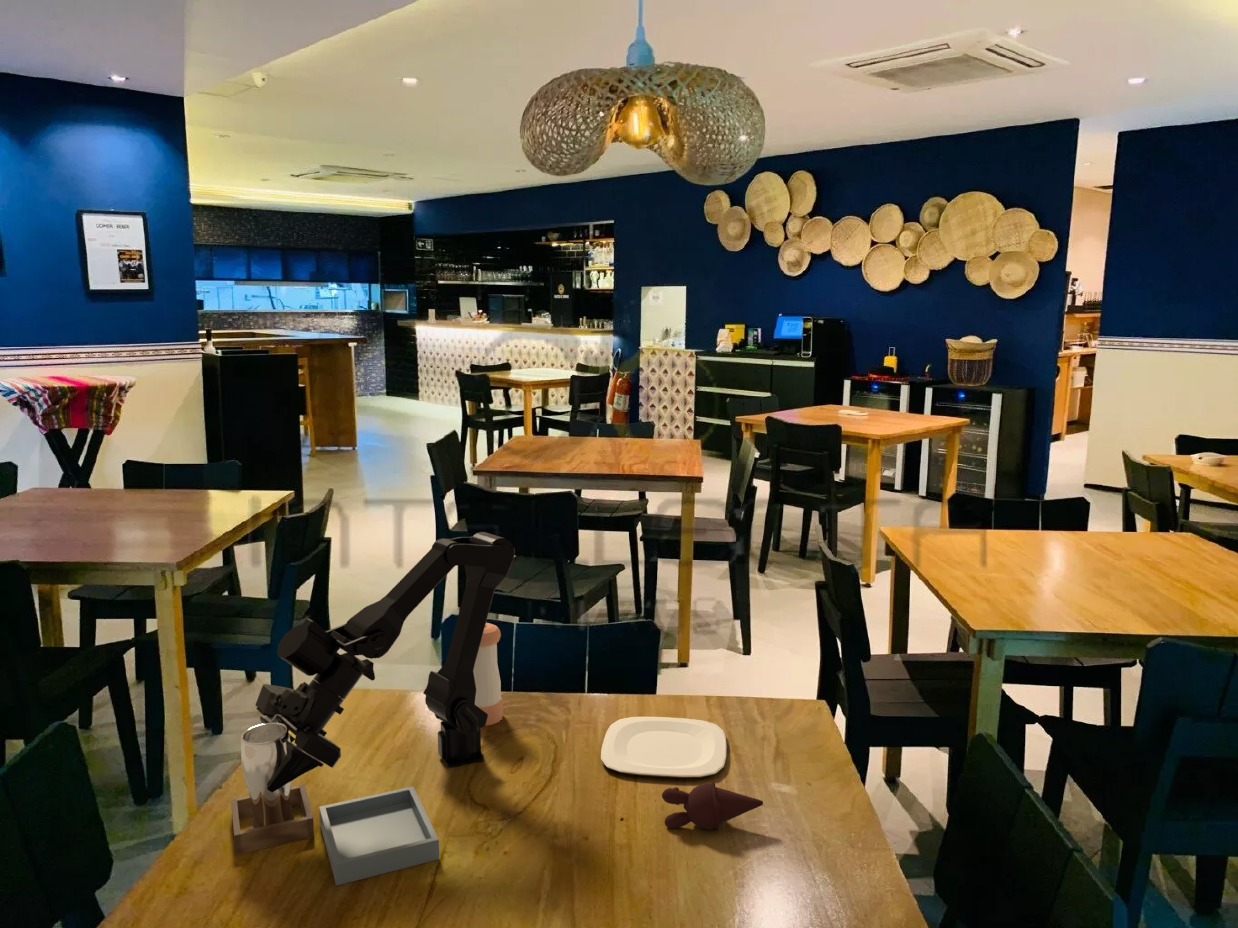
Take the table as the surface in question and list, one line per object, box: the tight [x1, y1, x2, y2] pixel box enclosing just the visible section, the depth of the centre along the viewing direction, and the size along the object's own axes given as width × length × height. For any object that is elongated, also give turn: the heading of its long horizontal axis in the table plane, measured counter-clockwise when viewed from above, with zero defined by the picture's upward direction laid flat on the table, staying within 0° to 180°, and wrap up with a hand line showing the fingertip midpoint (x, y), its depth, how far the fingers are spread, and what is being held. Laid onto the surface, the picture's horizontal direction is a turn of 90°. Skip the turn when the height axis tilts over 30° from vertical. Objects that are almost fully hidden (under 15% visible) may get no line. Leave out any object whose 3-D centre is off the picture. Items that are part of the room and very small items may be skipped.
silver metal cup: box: [240, 723, 296, 829], centre depth 132 cm, size 7×7×15 cm
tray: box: [318, 785, 440, 887], centre depth 130 cm, size 14×16×3 cm
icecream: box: [661, 781, 764, 830], centre depth 134 cm, size 7×7×15 cm
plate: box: [600, 716, 727, 779], centre depth 158 cm, size 22×22×2 cm
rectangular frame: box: [230, 784, 315, 856], centre depth 133 cm, size 11×11×3 cm
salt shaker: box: [473, 622, 504, 727], centre depth 169 cm, size 7×7×19 cm
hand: (260, 781), depth 132 cm, fingers closed on silver metal cup, 7 cm apart
